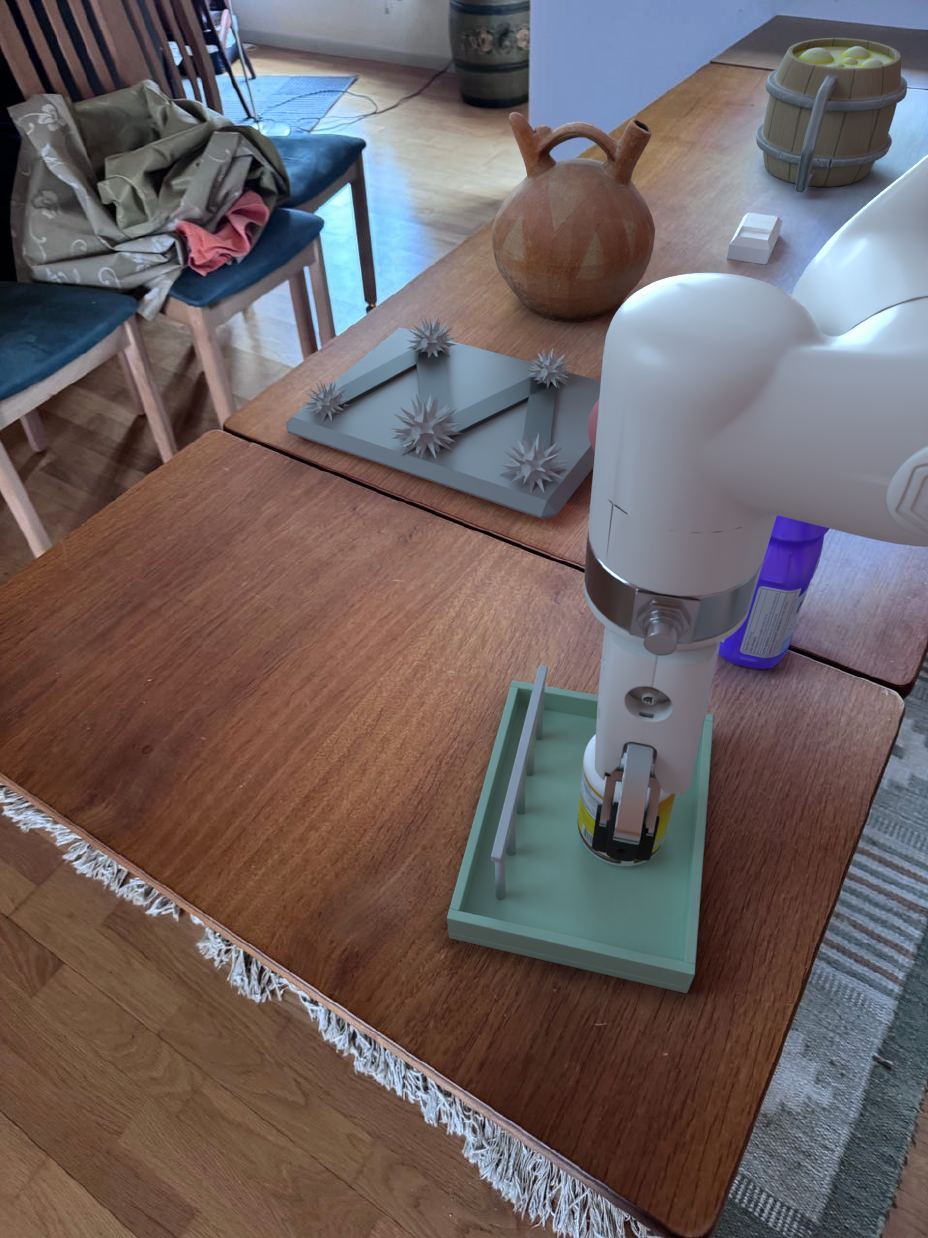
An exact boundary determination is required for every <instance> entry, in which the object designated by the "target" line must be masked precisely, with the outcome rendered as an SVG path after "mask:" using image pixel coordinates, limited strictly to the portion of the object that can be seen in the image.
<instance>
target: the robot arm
mask: <svg viewBox="0 0 928 1238" xmlns="http://www.w3.org/2000/svg"><path fill="white" fill-rule="evenodd" d="M601 363H602V364H601V375H600V381H601V386H600V398H599V410H598V422H597V433H596V445H595V457H594V467H593V469H592V470H593V471H592V483H591V490H590V491H591V492H590V504H589V516H588V527H587V537H586V547H585V549H586V550H585V560H584V561H585V562H584V563H585V564H584V574H583V584H582V585H583V595H584V598H585V602H586V604H587V606H588V609H590V612H591V613H592V615H594V617H595V618H596V619H597V620H598V622H599V623H601V624H602V625H603V626H604V628H603V638H602V649H601V650H602V651H601V659H600V660H601V661H600V668H599V669H600V671H599V678H598V680H599V681H598V694H597V695H598V706H597V723H596V744H595V770H596V772H597V774H598V775H599V776H600V777H601V778H602V779H603V780H604V779H605V776H606V777H607V778H606V784H605V791H604V797H603V804H601V805H599V804H598V806H597V812H596V819H595V826H594V833H593V841H592V848H593V849H594V850H596V851H599V852H604V853H606V854H607V855H608V856H609V857H610V858H613V859H616V860H620V861H626V862H631V861H634V860H635V859H638V860H643V861H648V860H650V859H651V855H652V850H653V846H654V842H655V838H656V834H657V830H658V826H659V818H660V816H657V810H658V804H659V798H660V792H661V788H662V790H663V791H664V792H665V793H670V794H678V795H681V794H683V793H684V792H686V791H687V790H688V789H689V788H690V785H691V780H692V775H693V770H694V766H695V761H696V756H697V752H698V747H699V743H700V739H701V734H702V730H703V726H704V721H705V717H706V714H707V712H708V708H709V703H710V698H711V694H712V689H713V684H714V679H715V675H716V669H717V663H718V658H719V647H720V642H721V641H723V640H725V639H726V638H728V637H729V636H731V635H732V634H734V633H735V632H736V631H737V630H738V629H739V628H740V627H741V626H742V624H743V623H744V621H745V620H746V618H747V616H748V613H749V610H750V607H751V603H752V600H753V596H754V593H755V589H756V586H757V582H758V579H759V575H760V572H761V568H762V565H763V562H764V558H765V554H766V550H767V547H768V544H769V540H770V537H771V534H772V530H773V527H774V524H775V520H776V517H777V516H782V517H786V518H790V519H794V520H798V521H802V522H806V523H810V524H814V525H818V526H822V527H826V528H830V529H829V530H834V531H838V532H840V533H841V532H842V533H845V534H850V535H854V536H857V537H860V538H861V537H862V538H866V539H870V540H875V541H879V542H885V543H891V544H895V545H903V546H913V547H921V548H928V154H927V155H925V156H924V157H922V159H920V160H919V161H918V162H917V163H915V164H914V165H913V166H912V167H910V168H909V169H908V170H907V171H906V172H905V173H903V174H902V175H901V176H900V177H898V178H897V179H896V180H894V181H893V182H892V183H890V185H889V186H887V187H886V188H885V189H883V190H882V191H880V193H879V194H877V195H876V196H875V197H874V198H873V199H871V200H870V201H869V202H868V203H866V204H865V205H864V206H863V207H862V208H861V209H860V210H858V212H856V213H855V214H854V215H853V216H852V217H851V218H850V219H848V221H846V222H845V223H844V224H843V225H842V226H841V227H840V228H839V229H838V230H837V231H836V232H834V234H833V235H832V236H831V237H830V238H829V239H828V240H827V241H826V242H825V243H824V245H822V247H821V248H820V250H819V251H818V252H817V253H816V255H814V256H813V258H812V259H811V260H810V262H808V264H807V266H806V267H805V269H804V270H803V272H802V273H801V275H800V277H799V279H798V281H797V282H796V284H795V286H794V288H793V289H792V293H791V294H790V293H789V292H787V291H786V290H784V289H783V288H781V287H778V286H776V285H773V284H771V283H769V282H767V281H763V280H760V279H757V278H753V277H748V276H745V275H738V274H732V273H723V272H722V273H721V272H693V273H684V274H678V275H674V276H669V277H666V278H662V279H659V280H656V281H654V282H651V283H650V284H648V285H645V286H643V287H642V288H641V289H638V290H637V291H635V292H634V293H632V294H631V295H630V296H629V297H628V298H626V300H625V301H624V302H623V303H622V304H621V305H620V307H619V308H618V309H617V311H616V312H615V314H614V315H613V318H612V319H611V322H610V324H609V326H608V329H607V332H606V335H605V339H604V347H603V354H602V362H601ZM624 753H626V759H625V765H621V760H622V758H623V756H624ZM652 758H653V760H652ZM651 763H652V764H654V768H653V771H652V770H651ZM616 781H617V782H622V785H621V791H620V798H619V802H614V805H613V799H614V793H615V786H616ZM648 787H649V788H650V789H649V795H648V801H647V807H646V811H645V804H646V797H647V790H648Z"/></svg>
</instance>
